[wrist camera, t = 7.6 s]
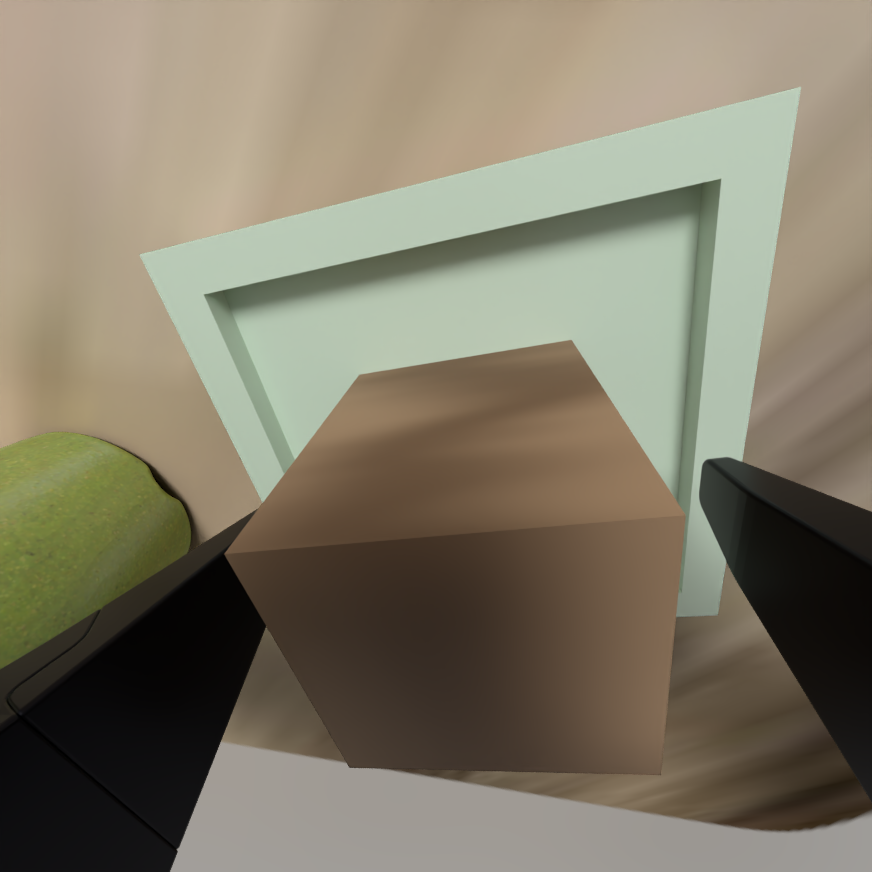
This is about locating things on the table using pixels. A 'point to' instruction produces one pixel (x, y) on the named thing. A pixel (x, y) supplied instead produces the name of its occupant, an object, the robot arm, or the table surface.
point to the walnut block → (475, 570)
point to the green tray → (514, 293)
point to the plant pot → (76, 534)
